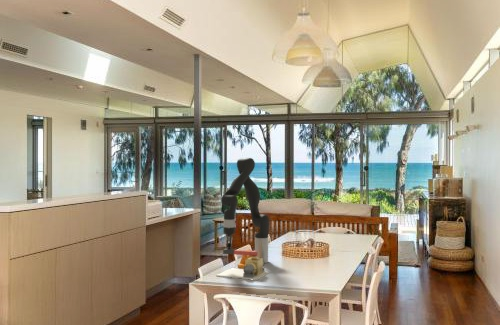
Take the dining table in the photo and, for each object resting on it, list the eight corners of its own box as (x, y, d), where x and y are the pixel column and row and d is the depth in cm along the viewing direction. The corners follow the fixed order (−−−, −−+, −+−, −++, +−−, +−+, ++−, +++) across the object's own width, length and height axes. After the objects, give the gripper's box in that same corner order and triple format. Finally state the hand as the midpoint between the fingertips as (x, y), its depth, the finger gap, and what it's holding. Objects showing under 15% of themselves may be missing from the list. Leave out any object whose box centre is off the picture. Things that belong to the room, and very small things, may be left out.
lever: (258, 254, 312) (258, 250, 312) (256, 256, 308) (256, 251, 308) (225, 252, 319) (225, 248, 319) (222, 254, 315) (222, 249, 315)
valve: (254, 269, 322) (254, 252, 322) (266, 270, 319) (266, 253, 319) (241, 277, 302) (241, 258, 302) (253, 278, 299) (253, 259, 299)
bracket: (237, 268, 329) (237, 250, 329) (240, 266, 336) (240, 248, 336) (252, 270, 326) (252, 251, 326) (256, 267, 333) (256, 249, 332)
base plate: (231, 269, 327) (231, 268, 327) (268, 272, 317) (268, 271, 317) (216, 276, 307) (216, 275, 307) (256, 280, 297) (256, 278, 297)
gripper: (223, 224, 326) (223, 251, 327) (222, 227, 313) (222, 255, 313) (235, 224, 327) (235, 251, 327) (235, 227, 313) (234, 255, 314)
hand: (229, 253), depth 320 cm, fingers closed
